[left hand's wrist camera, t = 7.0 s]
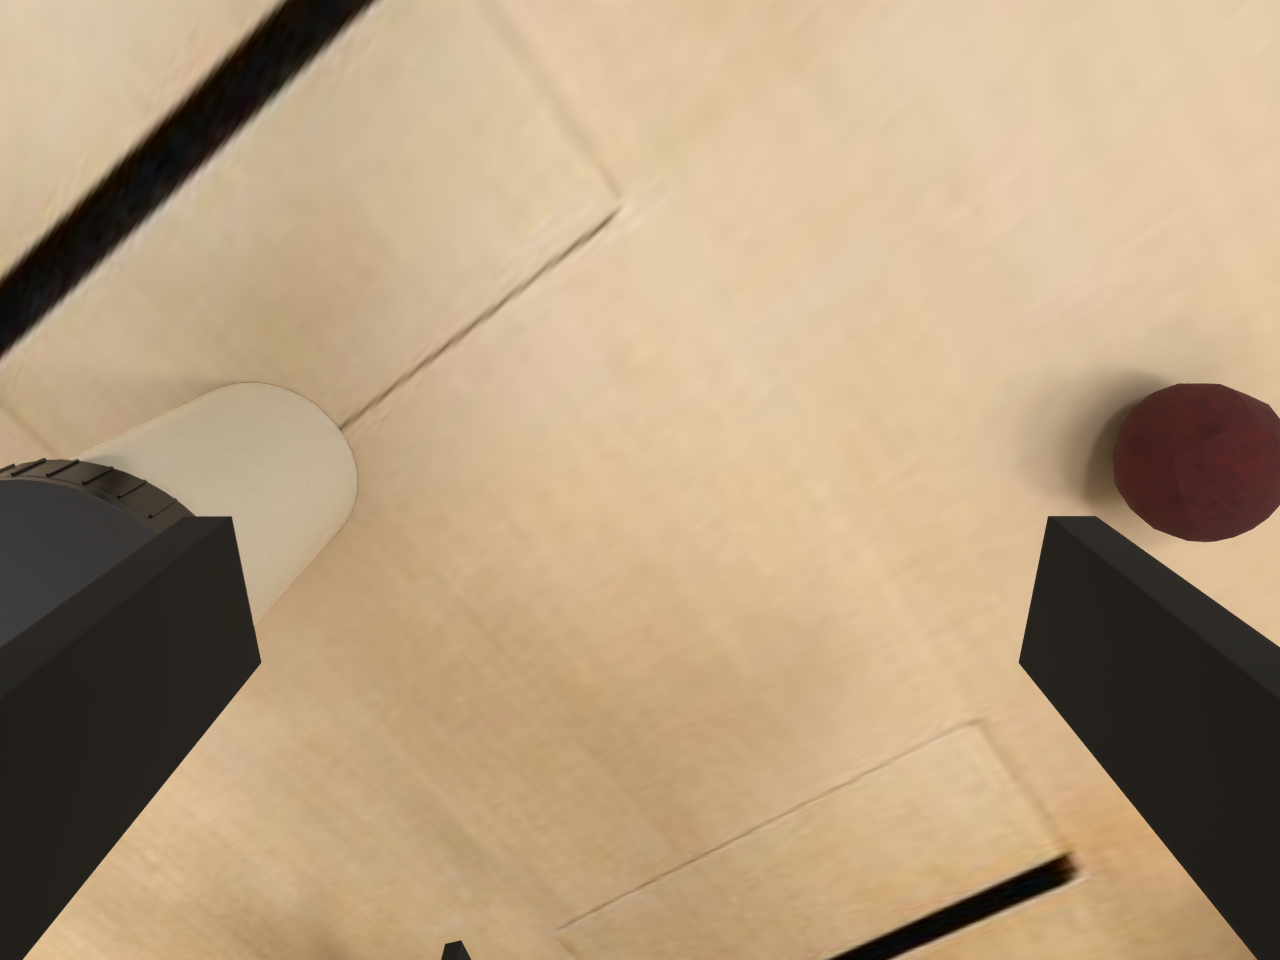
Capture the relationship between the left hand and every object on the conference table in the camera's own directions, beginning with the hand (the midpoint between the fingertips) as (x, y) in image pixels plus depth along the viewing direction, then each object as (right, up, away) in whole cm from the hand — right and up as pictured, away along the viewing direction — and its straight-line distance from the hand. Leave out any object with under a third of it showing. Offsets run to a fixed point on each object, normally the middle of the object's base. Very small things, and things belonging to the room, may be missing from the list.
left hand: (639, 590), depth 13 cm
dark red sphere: (+27, +4, +28) cm, 39 cm away
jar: (-20, +2, +29) cm, 35 cm away
